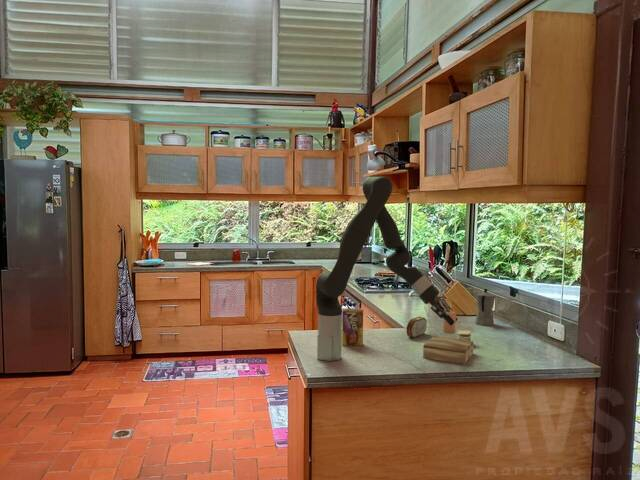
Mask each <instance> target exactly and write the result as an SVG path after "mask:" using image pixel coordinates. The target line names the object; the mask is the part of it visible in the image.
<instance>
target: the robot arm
mask: <svg viewBox="0 0 640 480" xmlns="http://www.w3.org/2000/svg"><path fill="white" fill-rule="evenodd" d="M362 192H363V195H364V197H365V199H366V202H365V204H364V205H363V206H362V208H361V209H360V210H359V212H358V213H356V214H355V215H354V217H352V218H351V219H350V221H349V223H348V224H347V226H346V227H345V230H344V231H343V234H342V236H341V239H340V243H339V249H338V256H337V259H336V262H335V264H334V266H333V268H332V270H331V271H324V272H321V273H320V274H319V276H318V277H317V279H316V283H315V294H316V295H315V297H316V298H315V300H316V307H317V311H318V312H317V315H318V317H317V342H316V343H317V346H316V347H317V348H316V349H317V351H316V353H317V354H316V359H317V360H321V361H327V362H333V361H338V360H340V359H342V346H343V345H342V308H343V306H342V305H341V303H340V301H339V297H340V296H342V294H343V293H344V292H345V291H346V288H347V285H348V283H349V281H350V277H351V275H352V271H353V270H354V267H355V265H356V263H357V261H358V259H359V256H360V254H361V252H362V250H363V248H364V246H365V245H366V242H367V240H368V238H369V236H370V233H371V231H372V229H373V227H374V225H375V223H377V225H378V229H379V231H380V235H381V238H382V241H383V244H384V246H385V248H386V249H388V250H390V249H391V250H392V249H394V252H392V253H390V254H389V255H387V257H386V258H385V264H386V266H387V268H388V269H389V270H390V271H391V272H392V273H394V274H395V275H397V276H398V277H400V278H401V279H403V280H404V281H405V282H406V283H407V285H409V287H410V288H411V289H412V290H413V292H414V293H415V294H416V295H417V297H418V298H419V299H420V300H421V301H422V302H423V303H424V304H425V305H427V304H430V305H431V307H430V309H431V310H432V312H434V313H435V314H436V315H437V316H438V317H439V318H440V319H443V320H444V319H445V320H446V321H447V322H448V323H449V325H453V324H454V323H455V321H454V320H453V319H452V318H451V317H450V316H449V315H448V313H447V312H446V311H452V308H451V307H450V305H449V304H448V302H447V301H446V299H444V298H440V297H439V294H441V293H440V291H439V289H438V288H437V287H436V286H435V285H434V284H433V283H432V282H431V281H430V280H429V279H428V278H427V277H426V276H425V275H424V274H423V273H422V272H421V271H420V269H418V268H417V267H416V266H411V267H407V266H406V265H408V264H409V263H410V261H411V254H410V252H409V249H408V248H407V246H406V245H405V244H404V242H403V240H402V238H401V236H400V232H399V228H398V226H397V223H396V221H395V220H394V218H393V217H392V216H391V214H390V212H389V211H388V209H387V207H386V206H385V205H386V203H387V202H388V200H389V198H390V196H392V192H393V183H392V181H391V179H390V178H388V177H385V176H369V177H367V178H365V180H364V181H363V183H362ZM457 321H458V318H457V317H456V322H457Z"/></svg>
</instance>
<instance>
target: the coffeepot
mask: <svg viewBox="0 0 640 480" xmlns="http://www.w3.org/2000/svg"><path fill="white" fill-rule="evenodd" d="M483 291H484V292H479V293H476V294H475V298H476V306H477V313H476V316H475V321H474V323H475V324H476V325H479V326H484V327H492V326H494V325H495V321H494V314H493V308H494V304H495V298H496V295H495V294H494V293H490V292H488V289H487V288H483Z"/></svg>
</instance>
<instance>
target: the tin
mask: <svg viewBox="0 0 640 480" xmlns="http://www.w3.org/2000/svg"><path fill="white" fill-rule="evenodd" d="M427 324H428V320H427V319H426V318H425V317H422V316H416V317H413V318H411V319H410V320H408V322H407V325H406V335H407V337H409V338H412V339H414V338H417V337H420V336H423V335H424V334H425V332H426V331H427Z"/></svg>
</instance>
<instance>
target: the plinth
mask: <svg viewBox="0 0 640 480" xmlns="http://www.w3.org/2000/svg"><path fill="white" fill-rule="evenodd" d="M422 347H423V348H422V350H423V353H422V356H423V358H424V359H430V360H437V361H444V362H448V363H449V362H450V363H457V364H463V365H465V364H466V363H467V361H469V359H470V358H471V357H472V355H473V354H474V341H473V340H471V341H469V340H461V339H457V338H451V337H443V336H436V335H434V336H433V337H431V338H430V339H429V340H428V341H427V342H425V343H424V344H423V346H422Z"/></svg>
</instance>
